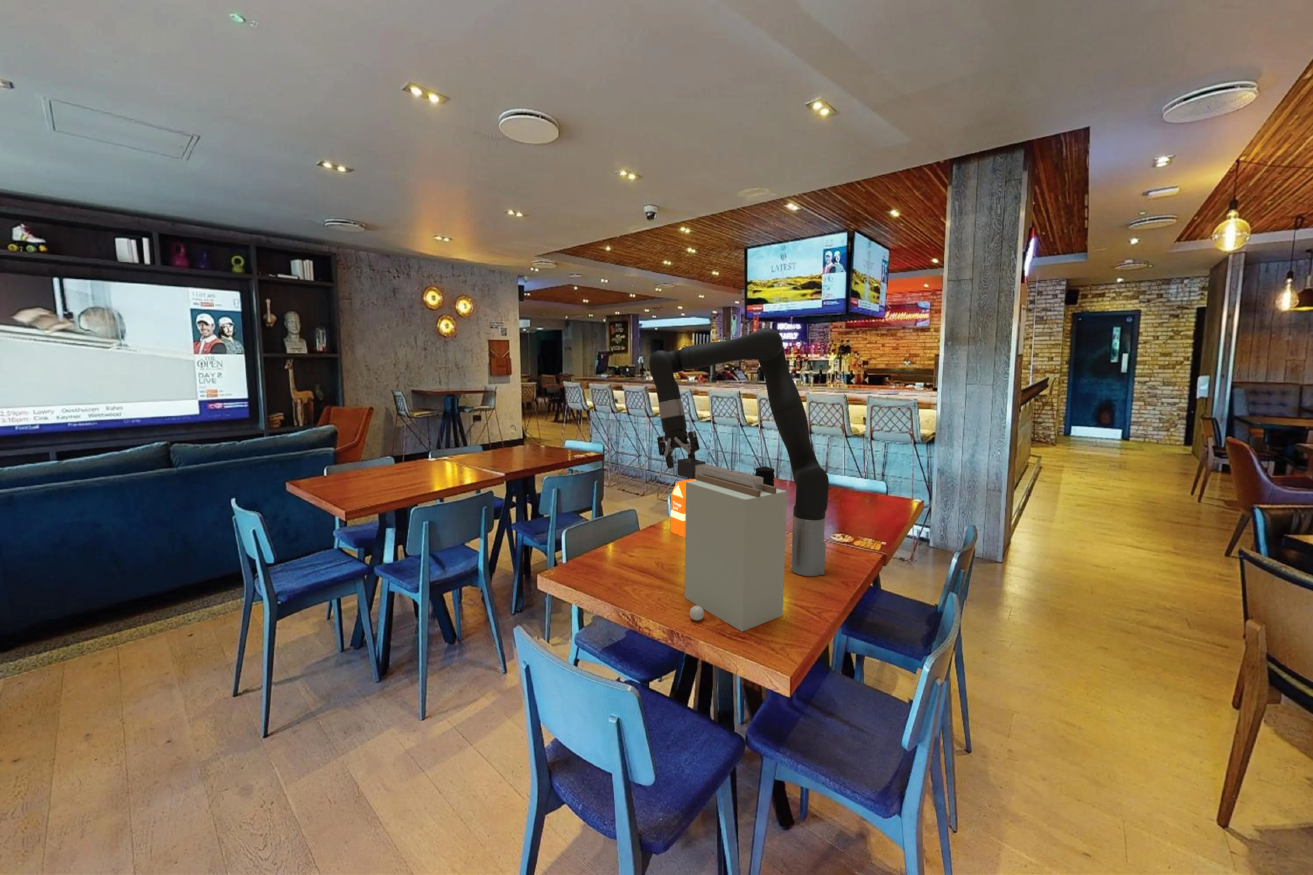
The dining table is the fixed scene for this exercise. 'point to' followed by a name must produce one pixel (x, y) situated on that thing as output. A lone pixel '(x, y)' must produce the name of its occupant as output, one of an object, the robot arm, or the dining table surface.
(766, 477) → the handle grip
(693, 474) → the rod
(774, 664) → the dining table surface
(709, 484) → the stand
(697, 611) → the white ball
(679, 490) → the orange juice
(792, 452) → the robot arm
